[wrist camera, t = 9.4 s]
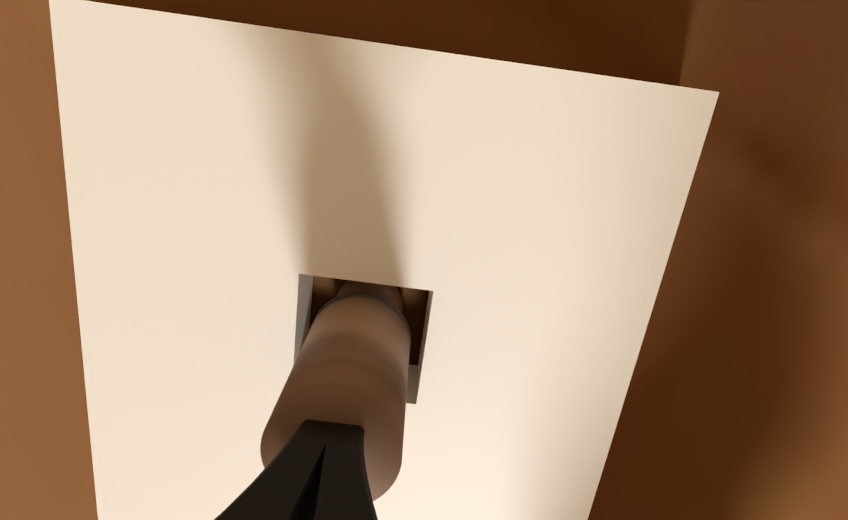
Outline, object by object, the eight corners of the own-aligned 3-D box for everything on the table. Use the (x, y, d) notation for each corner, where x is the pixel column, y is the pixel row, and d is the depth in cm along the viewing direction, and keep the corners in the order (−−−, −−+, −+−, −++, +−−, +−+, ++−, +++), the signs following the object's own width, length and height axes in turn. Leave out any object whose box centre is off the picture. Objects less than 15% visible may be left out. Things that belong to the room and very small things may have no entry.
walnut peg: (407, 350, 20) (394, 518, 13) (321, 339, 20) (257, 502, 12) (418, 270, 19) (411, 403, 11) (328, 258, 19) (261, 385, 11)
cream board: (555, 523, 23) (570, 575, 21) (133, 475, 22) (98, 523, 20) (679, 88, 17) (719, 92, 14) (103, 6, 16) (48, -5, 14)
